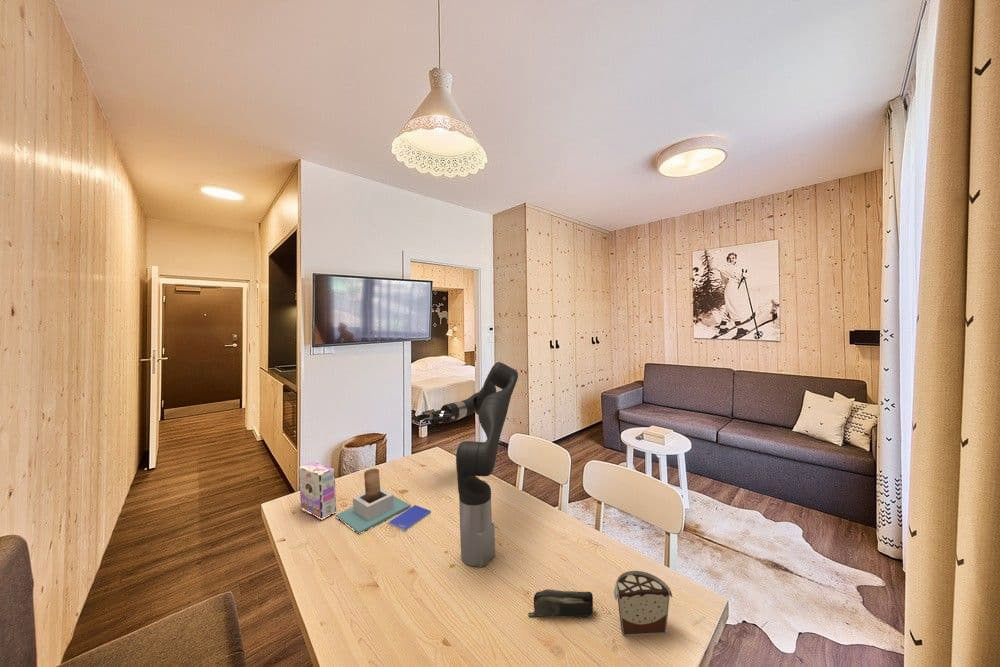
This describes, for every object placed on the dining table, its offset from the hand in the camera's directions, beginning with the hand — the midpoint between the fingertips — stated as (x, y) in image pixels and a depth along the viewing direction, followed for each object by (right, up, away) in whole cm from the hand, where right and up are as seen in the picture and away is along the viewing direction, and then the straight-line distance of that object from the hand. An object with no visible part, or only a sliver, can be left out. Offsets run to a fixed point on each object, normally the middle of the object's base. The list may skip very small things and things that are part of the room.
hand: (423, 420), depth 133 cm
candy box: (-36, -31, -10) cm, 49 cm away
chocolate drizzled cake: (+61, -31, -58) cm, 89 cm away
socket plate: (-16, -30, -11) cm, 36 cm away
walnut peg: (-16, -29, -11) cm, 35 cm away
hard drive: (-1, -31, -16) cm, 35 cm away
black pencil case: (+44, -31, -55) cm, 77 cm away
